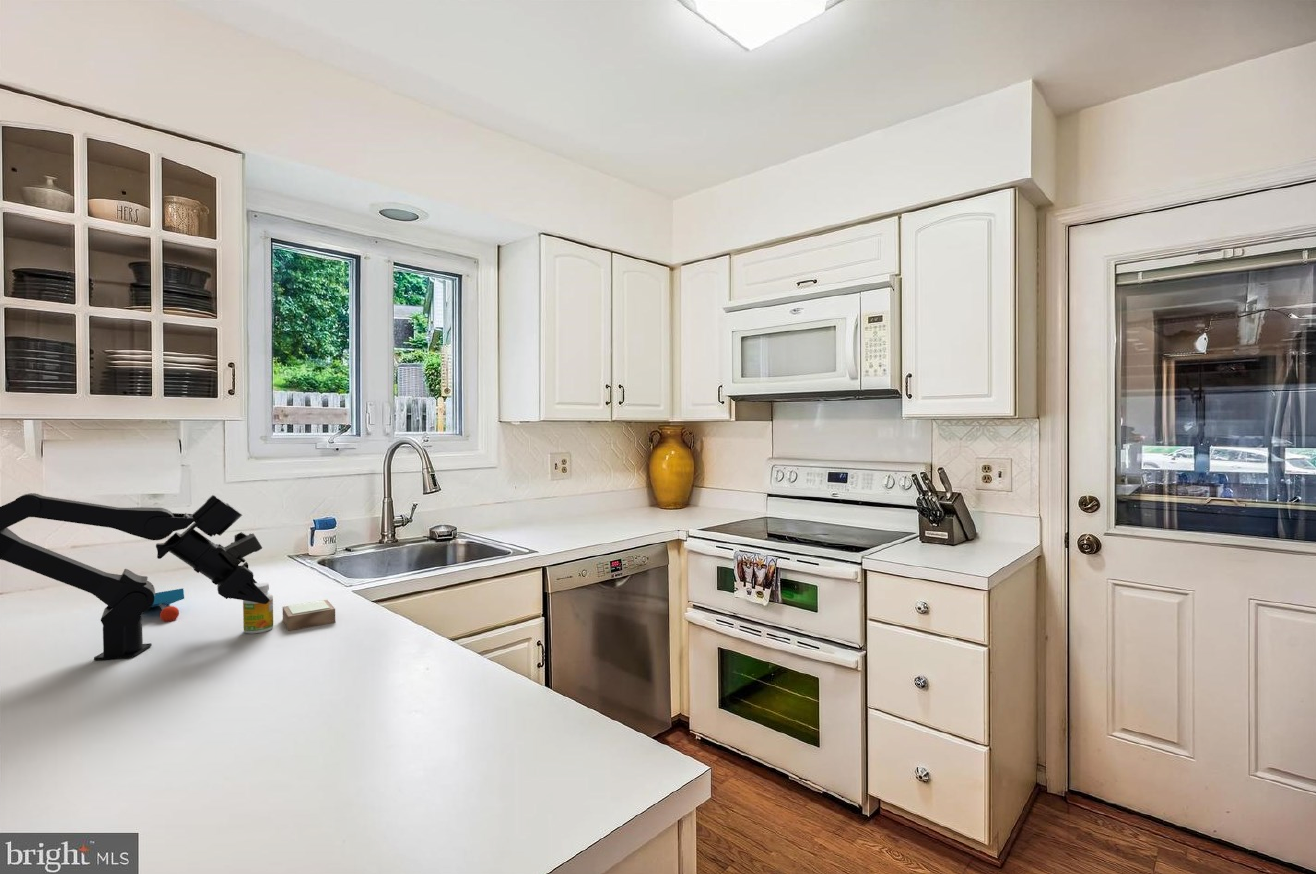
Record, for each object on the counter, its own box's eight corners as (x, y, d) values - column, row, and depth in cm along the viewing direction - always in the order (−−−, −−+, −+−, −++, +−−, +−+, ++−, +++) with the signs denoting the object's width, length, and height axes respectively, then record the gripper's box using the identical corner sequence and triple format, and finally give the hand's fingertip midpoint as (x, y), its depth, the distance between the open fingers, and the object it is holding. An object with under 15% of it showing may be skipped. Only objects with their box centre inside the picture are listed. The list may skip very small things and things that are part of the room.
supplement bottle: (239, 635, 130) (238, 589, 130) (248, 627, 135) (248, 582, 135) (268, 632, 132) (267, 587, 131) (276, 625, 137) (276, 580, 137)
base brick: (288, 630, 133) (288, 615, 133) (282, 620, 140) (282, 605, 140) (335, 622, 139) (335, 607, 139) (327, 612, 146) (327, 598, 146)
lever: (133, 631, 148) (153, 624, 137) (131, 601, 149) (150, 592, 138) (169, 623, 153) (191, 617, 142) (167, 595, 154) (187, 586, 143)
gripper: (237, 528, 123) (302, 575, 130) (230, 517, 138) (289, 560, 145) (188, 574, 119) (258, 620, 126) (187, 558, 133) (249, 600, 140)
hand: (265, 598), depth 134 cm, fingers open, 8 cm apart
